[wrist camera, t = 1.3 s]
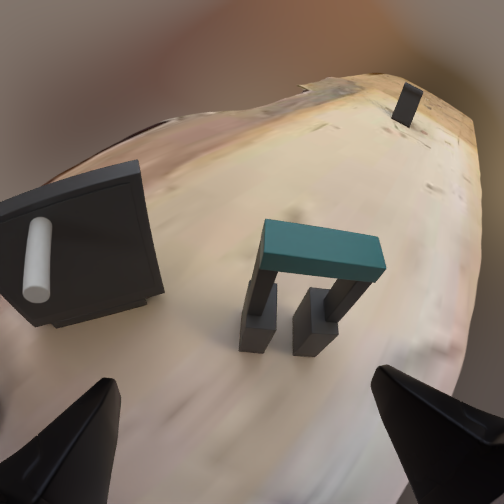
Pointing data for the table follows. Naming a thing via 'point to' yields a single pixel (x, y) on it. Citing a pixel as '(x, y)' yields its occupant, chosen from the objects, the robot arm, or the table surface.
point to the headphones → (316, 299)
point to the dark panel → (79, 248)
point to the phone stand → (407, 104)
